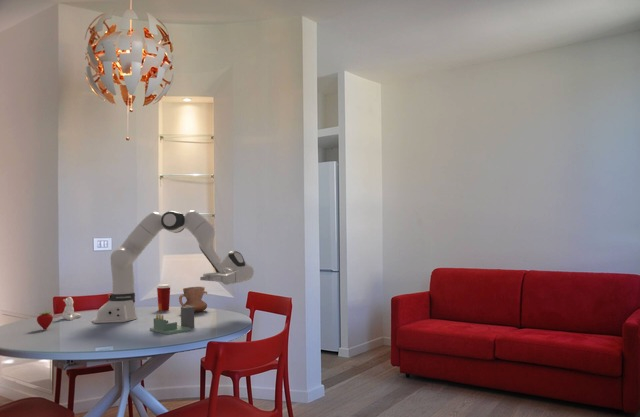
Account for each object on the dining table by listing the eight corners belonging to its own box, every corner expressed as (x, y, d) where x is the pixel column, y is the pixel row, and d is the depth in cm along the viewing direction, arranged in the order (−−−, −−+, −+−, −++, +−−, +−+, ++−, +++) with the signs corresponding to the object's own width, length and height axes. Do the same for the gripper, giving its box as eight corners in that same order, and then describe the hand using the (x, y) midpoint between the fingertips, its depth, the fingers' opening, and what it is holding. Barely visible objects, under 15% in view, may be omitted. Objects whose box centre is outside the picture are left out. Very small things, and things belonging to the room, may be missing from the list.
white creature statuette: (71, 320, 286) (71, 298, 286) (57, 320, 288) (57, 298, 288) (82, 317, 295) (82, 295, 296) (68, 317, 297) (68, 295, 297)
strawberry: (34, 330, 260) (34, 309, 260) (48, 327, 266) (49, 307, 267) (40, 331, 257) (40, 310, 257) (55, 328, 263) (55, 308, 263)
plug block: (188, 326, 266) (188, 304, 266) (194, 327, 263) (194, 305, 263) (181, 327, 262) (180, 305, 262) (186, 328, 259) (186, 306, 259)
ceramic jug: (201, 308, 321) (201, 285, 321) (213, 311, 310) (212, 286, 310) (173, 312, 309) (173, 288, 309) (185, 315, 298) (184, 290, 298)
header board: (171, 326, 265) (171, 310, 265) (190, 330, 254) (190, 313, 254) (149, 330, 255) (149, 313, 256) (168, 334, 245) (168, 316, 245)
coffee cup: (173, 309, 321) (172, 284, 321) (167, 311, 313) (167, 285, 313) (159, 309, 322) (159, 284, 322) (154, 311, 314) (153, 285, 314)
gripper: (215, 269, 289) (194, 272, 279) (239, 270, 275) (218, 273, 265) (216, 281, 289) (194, 284, 278) (240, 282, 275) (219, 286, 265)
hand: (206, 279), depth 272 cm, fingers open, 8 cm apart
